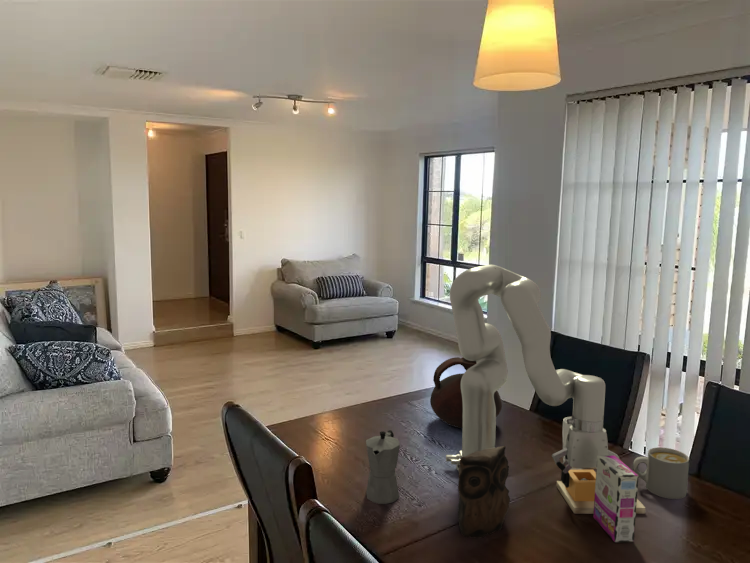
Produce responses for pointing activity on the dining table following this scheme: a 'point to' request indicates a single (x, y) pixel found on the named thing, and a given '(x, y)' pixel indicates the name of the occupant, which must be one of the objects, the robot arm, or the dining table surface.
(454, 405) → the jug
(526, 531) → the dining table surface
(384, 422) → the dining table surface
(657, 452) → the coffee mug
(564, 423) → the drinking glass
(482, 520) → the owl
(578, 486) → the small open box
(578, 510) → the board
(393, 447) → the coffeepot
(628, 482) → the candy bar box
